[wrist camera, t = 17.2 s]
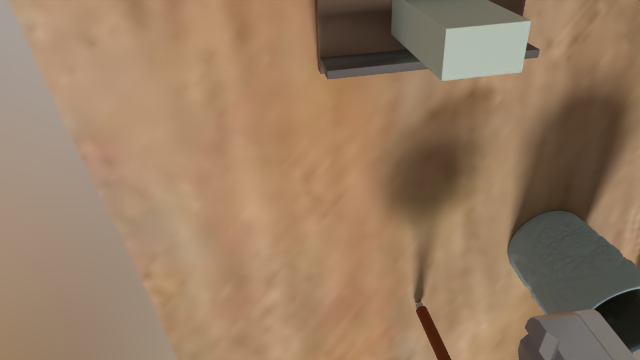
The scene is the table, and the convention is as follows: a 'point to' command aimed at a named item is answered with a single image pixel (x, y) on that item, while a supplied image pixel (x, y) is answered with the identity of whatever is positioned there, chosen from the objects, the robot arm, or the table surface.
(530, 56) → the track
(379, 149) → the table surface
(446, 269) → the table surface
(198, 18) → the table surface
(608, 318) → the blue-grey cylindrical cup
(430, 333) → the magnifying glass
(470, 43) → the pale green eraser block
